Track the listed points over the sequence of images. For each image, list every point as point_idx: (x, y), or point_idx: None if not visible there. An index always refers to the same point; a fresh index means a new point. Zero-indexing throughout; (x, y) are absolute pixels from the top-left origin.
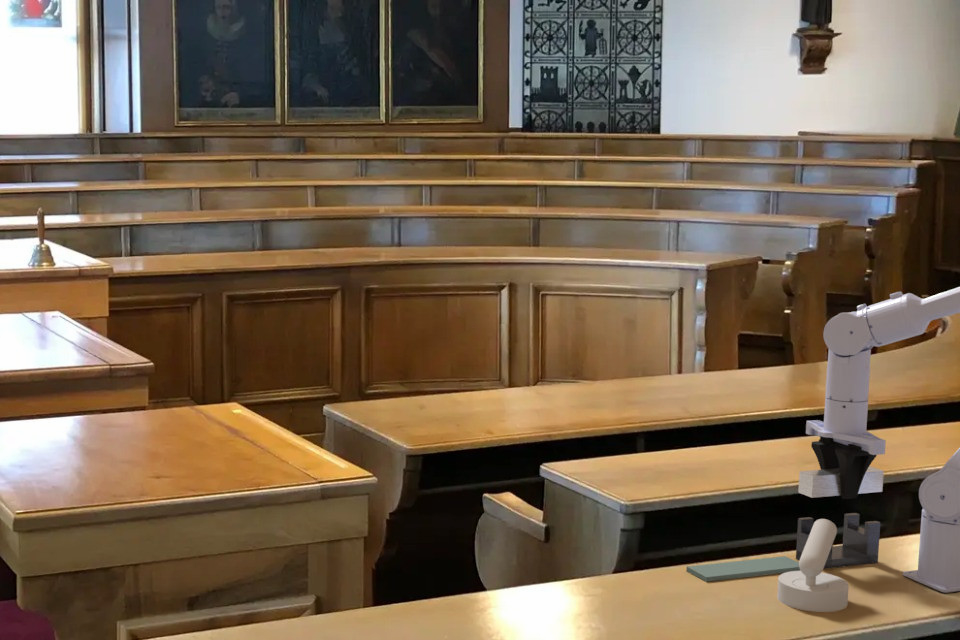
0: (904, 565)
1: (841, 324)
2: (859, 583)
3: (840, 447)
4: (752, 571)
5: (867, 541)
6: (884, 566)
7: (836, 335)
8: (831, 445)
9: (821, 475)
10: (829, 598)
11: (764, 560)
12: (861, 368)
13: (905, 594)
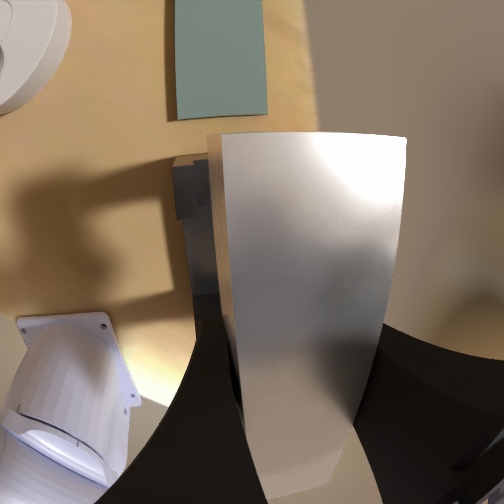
0: (173, 348)
1: None
2: (70, 197)
3: (409, 494)
4: None
5: (194, 314)
6: (172, 313)
7: None
8: (446, 478)
9: (227, 234)
10: None
11: (249, 46)
12: None
13: (12, 253)
